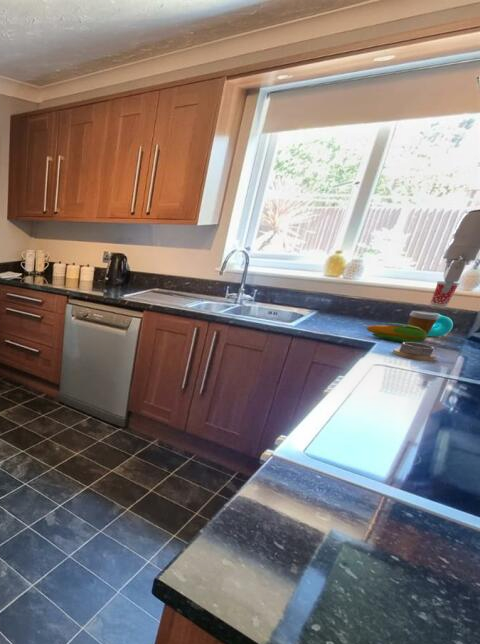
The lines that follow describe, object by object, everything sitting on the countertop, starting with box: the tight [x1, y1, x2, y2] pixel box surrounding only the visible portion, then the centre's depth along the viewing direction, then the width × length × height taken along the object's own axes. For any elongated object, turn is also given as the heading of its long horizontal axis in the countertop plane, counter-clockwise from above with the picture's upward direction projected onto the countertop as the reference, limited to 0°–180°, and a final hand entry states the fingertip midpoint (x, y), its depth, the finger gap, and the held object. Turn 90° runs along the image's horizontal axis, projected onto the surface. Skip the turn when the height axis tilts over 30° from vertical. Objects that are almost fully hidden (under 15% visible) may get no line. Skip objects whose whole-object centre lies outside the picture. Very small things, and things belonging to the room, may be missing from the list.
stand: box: [392, 342, 437, 362], centre depth 166 cm, size 12×12×4 cm
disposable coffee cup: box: [406, 310, 440, 334], centre depth 191 cm, size 10×10×12 cm
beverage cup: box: [429, 280, 461, 308], centre depth 164 cm, size 6×6×14 cm
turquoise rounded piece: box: [427, 312, 454, 338], centre depth 199 cm, size 10×10×10 cm
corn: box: [365, 322, 428, 343], centre depth 188 cm, size 7×8×20 cm
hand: (444, 291), depth 165 cm, fingers closed on beverage cup, 6 cm apart
